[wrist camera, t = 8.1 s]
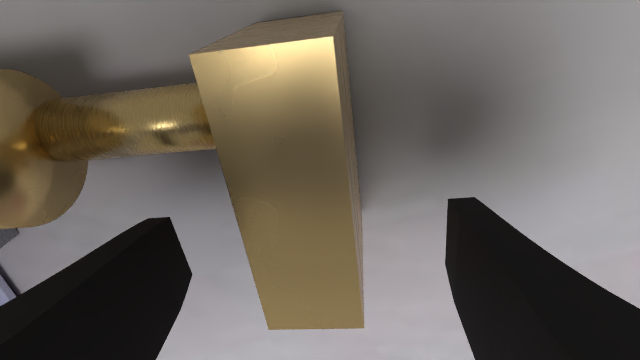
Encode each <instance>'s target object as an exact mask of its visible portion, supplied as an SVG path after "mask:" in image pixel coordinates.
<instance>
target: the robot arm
mask: <svg viewBox="0 0 640 360" xmlns="http://www.w3.org/2000/svg"><path fill="white" fill-rule="evenodd" d="M445 265H446V269H447V274H448V278H449V283H450V287H451V291H452V295H453V299H454V303H455V306H456V308H457V311H458V314H459V317H460V320H461V322H462V325H463V328H464V331H465V333H466V336H467V339H468V341H469V344H470V347H471V350H472V352H473V355H474V358H475V360H640V309H639V308H637V307H636V306H634V305H632V304H630V303H628V302H627V301H625V300H623V299H621V298H620V297H618V296H616V295H614V294H613V293H611V292H609V291H607V290H606V289H604V288H602V287H601V286H599V285H597V284H596V283H594V282H593V281H591V280H589V279H588V278H586V277H585V276H583V275H582V274H580V273H578V272H577V271H575V270H574V269H572V268H571V267H569V266H568V265H566V264H565V263H563V262H562V261H560V260H559V259H557V258H556V257H554V256H553V255H551V254H550V253H548V252H547V251H545V250H544V249H543V248H541V247H540V246H538V245H537V244H536V243H534V242H533V241H531V240H530V239H529V238H527V237H526V236H525V235H523V234H522V233H521V232H519V231H518V230H517V229H515V228H514V227H513V226H511V225H510V224H509V223H507V222H506V221H505V220H504V219H502V218H501V217H500V216H498V215H497V214H496V213H495V212H493V211H492V210H491V209H489V208H488V207H487V206H486V205H484V204H483V203H482V202H480V201H479V200H478V199H476V198H475V197H470V198H455V199H448V211H447V235H446V259H445ZM191 277H192V273H191V270H190V267H189V265H188V262H187V260H186V257H185V255H184V252H183V250H182V247H181V245H180V242H179V240H178V237H177V234H176V232H175V229H174V227H173V224H172V222H171V219H170V217H162V218H148V219H146V220H144V221H142V222H140V223H138V224H137V225H135V226H133V227H131V228H130V229H128V230H126V231H124V232H123V233H121V234H119V235H118V236H116V237H115V238H113V239H111V240H110V241H108V242H107V243H105V244H103V245H102V246H100V247H99V248H97V249H95V250H94V251H92V252H91V253H89V254H87V255H86V256H84V257H83V258H81V259H79V260H78V261H76V262H75V263H73V264H71V265H70V266H68V267H66V268H65V269H63V270H61V271H60V272H58V273H56V274H55V275H53V276H51V277H50V278H48V279H46V280H45V281H43V282H41V283H40V284H38V285H36V286H34V287H33V288H31V289H29V290H28V291H26V292H24V293H23V294H21V295H19V296H17V297H16V296H15V294H14V293H13V291H12V290H11V289H10V287H9V286H8V285H7V283H6V282H5V281H4V279H3V278H2V276H1V275H0V360H156V358H157V356H158V354H159V352H160V350H161V348H162V346H163V344H164V342H165V340H166V338H167V336H168V334H169V332H170V330H171V328H172V326H173V324H174V322H175V320H176V318H177V316H178V314H179V312H180V310H181V307H182V304H183V301H184V299H185V296H186V293H187V290H188V287H189V283H190V280H191Z"/></svg>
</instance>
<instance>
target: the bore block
mask: <svg viewBox="0 0 640 360" xmlns="http://www.w3.org/2000/svg"><path fill="white" fill-rule="evenodd" d="M18 234H19V233H18V231H17V230H16V228H7V229H0V248H1V247H3V246H4V245H5V244H6V243H8V242H9V241H10V240H12V239H13V238H14V237H16V236H17V235H18Z"/></svg>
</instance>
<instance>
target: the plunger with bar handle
mask: <svg viewBox="0 0 640 360" xmlns="http://www.w3.org/2000/svg"><path fill="white" fill-rule="evenodd" d="M189 57H190V60H191V64H192V67H193V71H194V74H195V78H196V81H197V83H190V84H181V85H172V86H164V87H155V88H146V89H138V90H129V91H120V92H112V93H103V94H94V95H86V96H77V97H68V98H62V97H61V96H60V95H59V94H58V93H57V92H56V91H55V90H54V89H53V88H52V87H50V86H49V85H47V84H46V83H44V82H43V81H41V80H39V79H38V78H36V77H34V76H31V75H29V74H26V73H23V72H20V71H16V70H8V69H0V229H7V228H23V227H34V226H39V225H43V224H46V223H49V222H51V221H53V220H55V219H57V218H58V217H60V216H61V215H62V214H64V213H65V212H66V211H67V210H68V209H69V208H70V207H71V206H72V205H73V203H74V202H75V201H76V199H77V198H78V196H79V194H80V192H81V190H82V188H83V185H84V182H85V179H86V174H87V166H88V160H94V159H106V158H117V157H129V156H140V155H152V154H163V153H174V152H186V151H197V150H209V149H216V150H217V153H218V157H219V160H220V164H221V167H222V170H223V174H224V177H225V181H226V184H227V188H228V191H229V195H230V198H231V201H232V205H233V208H234V212H235V215H236V219H237V222H238V226H239V229H240V232H241V236H242V239H243V243H244V246H245V250H246V253H247V256H248V260H249V263H250V267H251V270H252V274H253V277H254V281H255V284H256V287H257V291H258V294H259V298H260V301H261V305H262V308H263V312H264V315H265V318H266V322H267V325H268V329H269V330H277V329H347V328H364V291H363V241H362V213H361V202H360V191H359V180H358V169H357V158H356V147H355V136H354V126H353V115H352V104H351V93H350V82H349V71H348V60H347V49H346V39H345V28H344V17H343V11H339V12H331V13H324V14H317V15H309V16H302V17H295V18H287V19H280V20H273V21H265V22H258V23H254V24H252V25H250V26H248V27H246V28H244V29H242V30H240V31H238V32H235V33H233V34H231V35H229V36H227V37H225V38H223V39H221V40H219V41H217V42H214V43H212V44H210V45H208V46H206V47H204V48H202V49H200V50H198V51H196V52H193V53H191V54H189Z"/></svg>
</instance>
